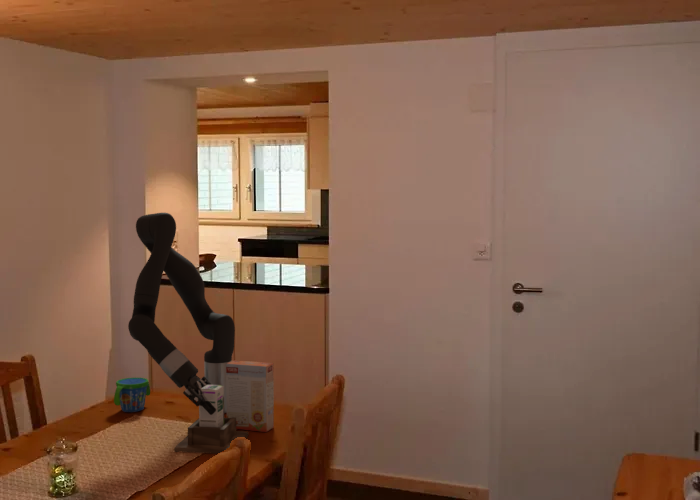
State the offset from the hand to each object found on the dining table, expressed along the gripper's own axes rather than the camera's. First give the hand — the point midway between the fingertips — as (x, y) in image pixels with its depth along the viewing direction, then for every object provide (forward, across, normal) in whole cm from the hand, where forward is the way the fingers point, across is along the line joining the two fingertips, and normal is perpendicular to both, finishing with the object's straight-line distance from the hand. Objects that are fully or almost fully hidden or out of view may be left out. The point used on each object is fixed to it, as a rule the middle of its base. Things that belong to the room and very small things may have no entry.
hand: (217, 409), depth 221 cm
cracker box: (+11, +16, +4) cm, 20 cm away
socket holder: (+6, 0, +8) cm, 10 cm away
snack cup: (-20, +29, +36) cm, 50 cm away
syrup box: (+4, 0, +7) cm, 8 cm away
